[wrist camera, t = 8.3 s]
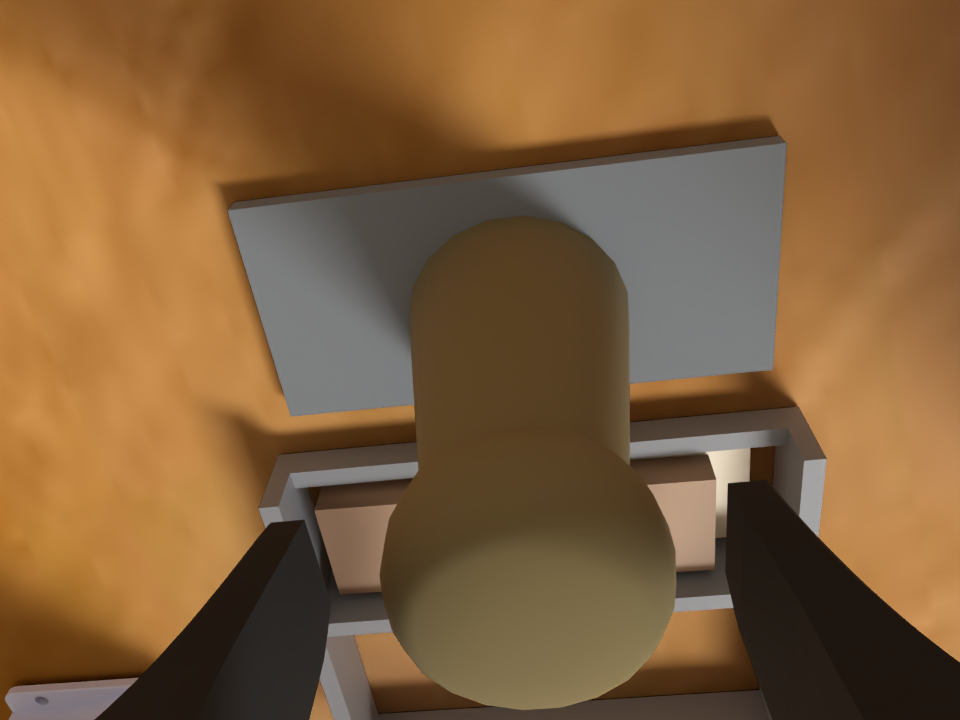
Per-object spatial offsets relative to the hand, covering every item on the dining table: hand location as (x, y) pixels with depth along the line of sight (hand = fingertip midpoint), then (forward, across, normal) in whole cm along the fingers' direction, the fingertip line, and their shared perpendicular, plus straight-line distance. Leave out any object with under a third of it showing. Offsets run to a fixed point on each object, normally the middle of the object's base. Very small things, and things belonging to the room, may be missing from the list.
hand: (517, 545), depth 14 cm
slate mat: (+10, 0, 0) cm, 10 cm away
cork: (+10, 0, +1) cm, 10 cm away
